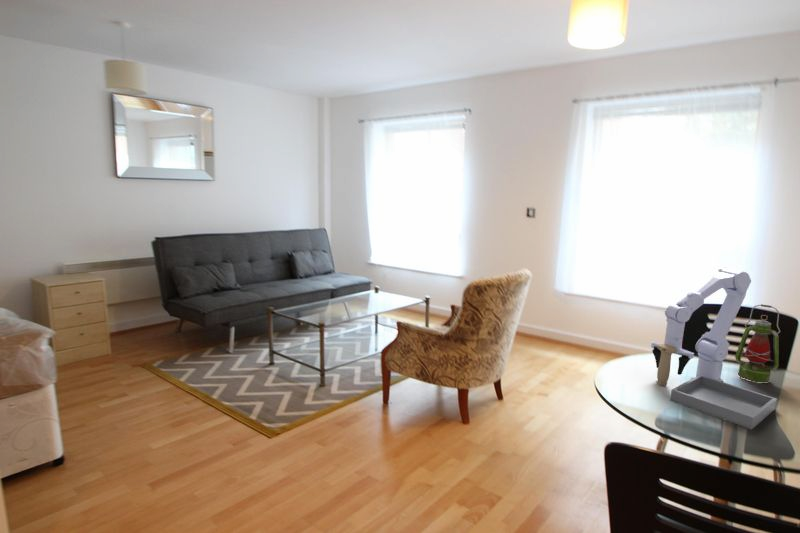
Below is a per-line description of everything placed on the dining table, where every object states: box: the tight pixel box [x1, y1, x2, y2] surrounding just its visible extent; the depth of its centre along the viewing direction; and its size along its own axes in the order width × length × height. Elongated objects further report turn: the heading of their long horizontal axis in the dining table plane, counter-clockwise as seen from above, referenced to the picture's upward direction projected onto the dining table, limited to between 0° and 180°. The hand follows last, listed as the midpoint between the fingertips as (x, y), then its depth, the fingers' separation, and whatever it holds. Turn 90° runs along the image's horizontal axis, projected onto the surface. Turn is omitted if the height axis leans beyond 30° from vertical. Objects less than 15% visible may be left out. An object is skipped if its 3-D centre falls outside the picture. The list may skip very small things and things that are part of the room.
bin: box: [669, 375, 778, 430], centre depth 164 cm, size 24×24×4 cm
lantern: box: [735, 303, 781, 382], centre depth 187 cm, size 14×11×30 cm
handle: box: [656, 343, 677, 387], centre depth 179 cm, size 5×6×15 cm
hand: (668, 370), depth 182 cm, fingers open, 7 cm apart
